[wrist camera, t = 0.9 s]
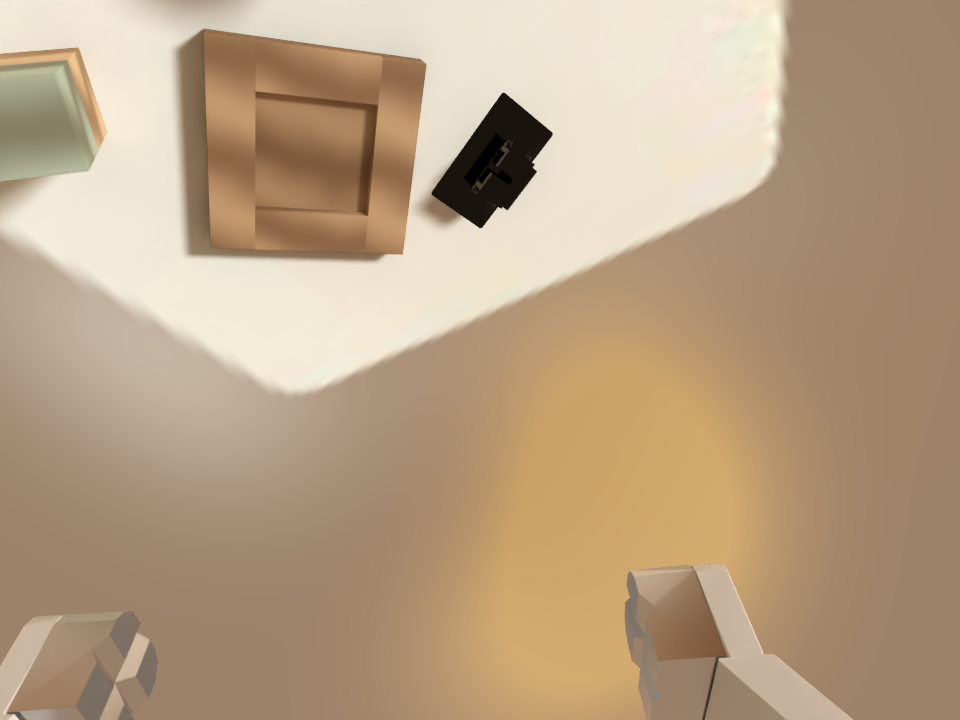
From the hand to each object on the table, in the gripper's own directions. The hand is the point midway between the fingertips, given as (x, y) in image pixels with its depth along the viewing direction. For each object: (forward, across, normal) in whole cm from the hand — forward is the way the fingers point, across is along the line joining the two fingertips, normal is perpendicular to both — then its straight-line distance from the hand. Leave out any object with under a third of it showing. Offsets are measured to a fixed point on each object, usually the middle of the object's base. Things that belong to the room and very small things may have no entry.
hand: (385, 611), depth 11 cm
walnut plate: (+42, +9, +4) cm, 43 cm away
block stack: (+38, +23, -2) cm, 44 cm away
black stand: (+46, -4, +7) cm, 47 cm away
